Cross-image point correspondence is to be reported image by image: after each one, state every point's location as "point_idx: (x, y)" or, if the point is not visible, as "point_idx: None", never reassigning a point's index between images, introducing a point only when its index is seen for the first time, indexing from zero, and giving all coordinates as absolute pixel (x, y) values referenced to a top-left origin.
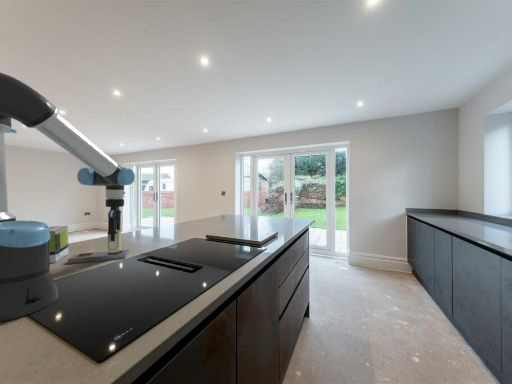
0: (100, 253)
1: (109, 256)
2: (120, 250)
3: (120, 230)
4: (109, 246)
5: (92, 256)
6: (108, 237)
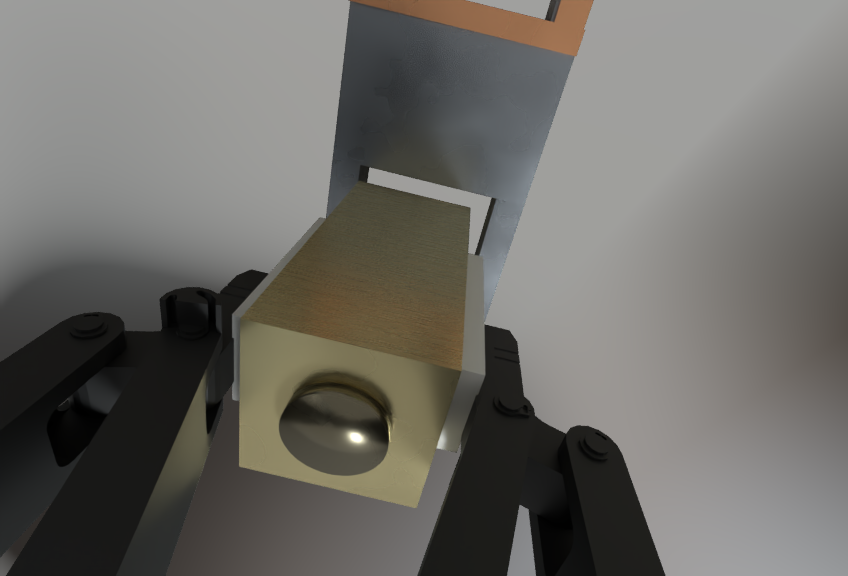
0: (483, 97)
1: (332, 188)
2: (485, 292)
3: (357, 488)
4: (314, 225)
5: (381, 10)
6: (292, 268)
